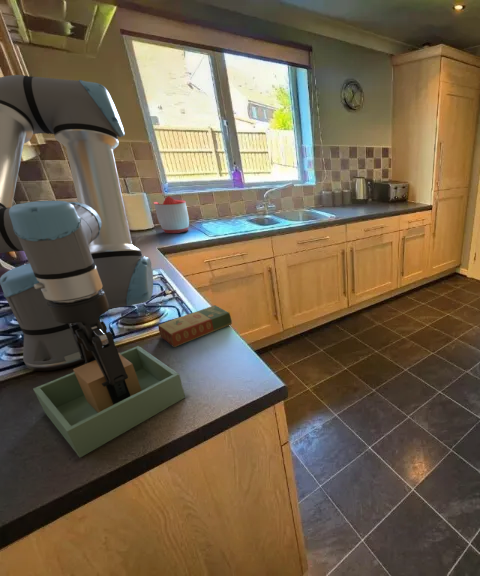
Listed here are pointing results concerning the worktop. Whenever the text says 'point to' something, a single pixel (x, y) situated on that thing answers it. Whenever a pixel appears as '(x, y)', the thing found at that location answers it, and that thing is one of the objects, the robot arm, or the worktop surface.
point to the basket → (117, 418)
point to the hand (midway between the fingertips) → (115, 397)
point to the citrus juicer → (172, 215)
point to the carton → (194, 325)
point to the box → (93, 379)
